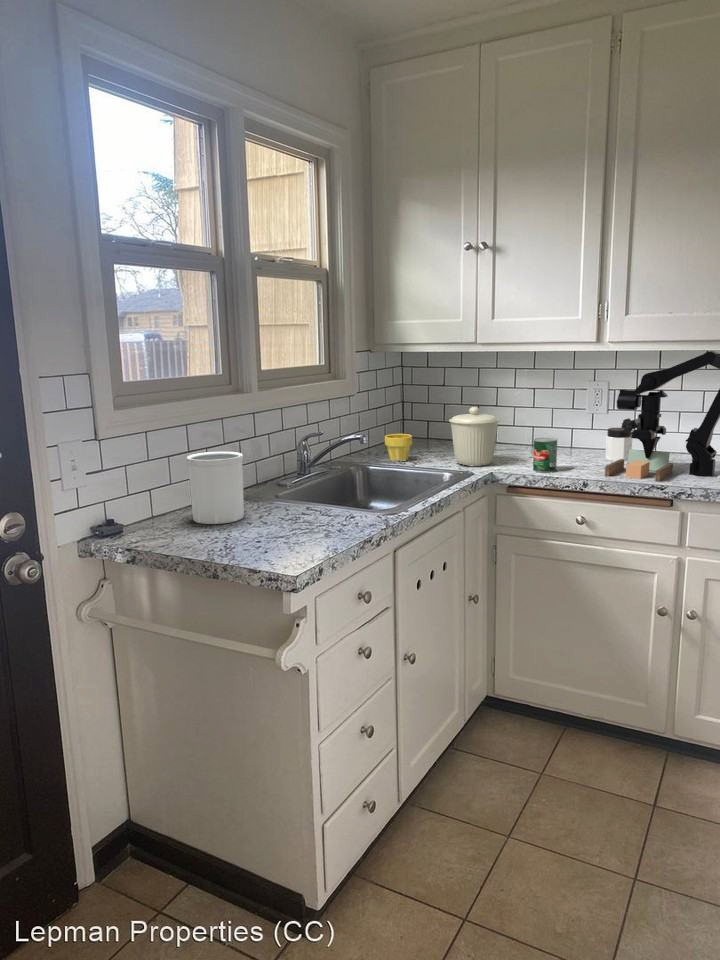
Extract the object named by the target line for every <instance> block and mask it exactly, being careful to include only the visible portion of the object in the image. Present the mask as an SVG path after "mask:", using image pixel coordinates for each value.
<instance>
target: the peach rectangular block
mask: <svg viewBox="0 0 720 960" xmlns="http://www.w3.org/2000/svg"><path fill="white" fill-rule="evenodd" d="M649 465H650V462H647V461H633V462H631V463H629V464H627V463H626V465H625V478H628V479H638V480H642V479H643V478H644V477H646V476H648V475H649V474H650V471H649Z"/></svg>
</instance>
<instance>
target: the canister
mask: <svg viewBox="0 0 720 960" xmlns="http://www.w3.org/2000/svg"><path fill="white" fill-rule="evenodd" d="M468 412H469V413H467V414H465V413H464V414H458V415H454V416H453V417H452V418H450V419H448V421H449V423H450V427H451V435H452V443H453V452H454V457H455V460H456V463H457V464H458V463H459V464H458V465H460V464H463V465H462V466H464V465H473V466H472V467H482V466H481V465H485V466H489V465H490V464H491V463H492V461H493V460H494V455H495V449H496V441H497V432H498V424H499V422H500V419H499V418H497V417H496V416H495V415H493V414H486V413H480V408H479V407H476V406H473V407H470V408H469V410H468Z"/></svg>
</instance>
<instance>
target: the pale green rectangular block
mask: <svg viewBox="0 0 720 960" xmlns="http://www.w3.org/2000/svg"><path fill="white" fill-rule="evenodd" d="M670 455H671V453H670V452H669V451H657V450H656V451H655V450H653V452H652V454H651V456H650V458H646V457H645V452H644V449H633V448H632V449H629V455H628V460H627V463H626V465H627V464H629V463H631V462H633V461H647V462H650V465H649V472H650V471H651V472H656V470H658V469H660V468H661V467H663V466H665V465H667V464H668V463H670V462H669V461H670Z"/></svg>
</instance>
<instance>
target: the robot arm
mask: <svg viewBox="0 0 720 960" xmlns="http://www.w3.org/2000/svg"><path fill="white" fill-rule="evenodd" d="M706 366H712V367H714V368H716V369H719V370H720V353H719V352H717V351H714V350H708V351H706V352H704V353H703V354H700V355H698V356H695V357H693V358H690V359H689V360H685V361H683V362H681V363H678V364H676V365H673V366H671V367H668V368H664V369H659V370H656V371H651V372H647V373H645V374H643V376H641V378H640V383H639V384H638V386H637V387H636V388H635V389H626V388H622V389H619V394H618V397H617V399H616V408H617V410H620V411H622V410H623V411H637V410H638V408H640V409H641V410H640V413H639V414H638V415H637V418H635V419H632V420H631V419H630V417H629V418H626V419H623V422H622V423H621V427H620V428H623V429H624V432H628V431H631V432H632V434H631V438H632V439H635V440H639V441H640V442H641V443H642V448H643V450H644V452H645V457H646V458H650V456H651V454H652V452H653V451H655V448H656V446H657V444H658V443H659V441H660V440H661V436H657V435H663V436H664V435H666V434H667V428H666V427H665V425H660V418H661V417H662V413H661V398H668V394H667V393H666V392H665V391H664V389H659V388H662V387H663V386H665V385H666V384H668V383H669V382H671V381H673V380H674V379H676V378H678V377H681V376H684V375H686V374H688V373H691V372H694V371H696V370H699V369H701V368H703V367H706ZM658 389H659V391H655V390H658ZM653 390H654V391H653ZM647 392H648V394H644V393H647ZM719 420H720V388H719V389H718V391H717V393H716V395H715V397H714V399H713V401H712V403H711V405H710V406H709V409H708V411H707V413H706V414H705V416H704V419H703V420H702V422H701V424H700V426H699V427H694V428H692V429H691V430H690V432H689V436H688V438H687V439H685V442H686V444H685V449H686V451H687V452H688V453H689V454H690V456H691V462H690V463H689V470H688V471H689V475H690V476H695V477H702V478H706V477H710V478H712V477H714V476H715V472H716V470H715V469H716V459H714V458H715V457H716V455H717V453H718V452H717V451H716V450H715V448H714V447H712V445H711V442H712V440H713V436H714V435H713V434H714V430H715V427H716V426H717V424H718V422H719Z"/></svg>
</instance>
